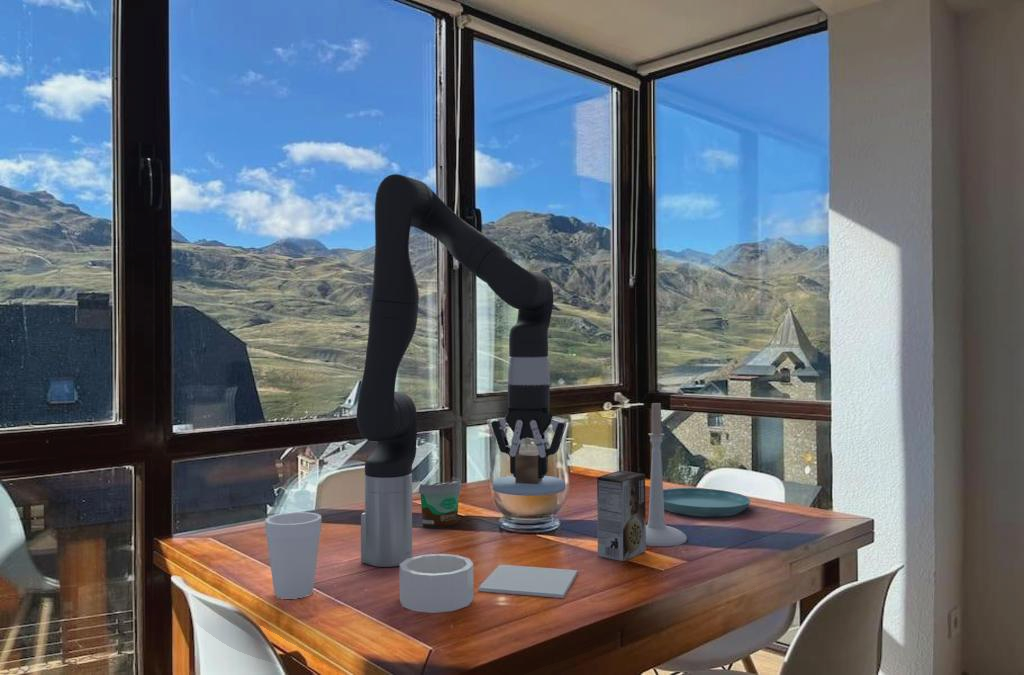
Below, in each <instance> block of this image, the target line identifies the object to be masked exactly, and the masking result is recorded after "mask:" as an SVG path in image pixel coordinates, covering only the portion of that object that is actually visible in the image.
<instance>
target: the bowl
mask: <svg viewBox="0 0 1024 675" xmlns="http://www.w3.org/2000/svg"><path fill="white" fill-rule="evenodd" d="M474 587H475V586H474V563H473V561H472V560H471V559H470V558H469V557H465V556H461V555H458V554H447V553H433V554H431V553H430V554H421V555H418V556H414V557H413V556H412V558H409V559H406V560H405V561H403V562H402V563H401V564H400V565H399V602H400V604H401V607H402V608H405V609H407V610H409V611H412V612H416V613H417V612H419V613H429V614H430V613H431V614H437V613H446V612H455V611H458V610H460V609H463V608H466V607H468V606H469V605H470V604H471V603H472V602H473V601H474V599H475V598H474V595H475V594H474V592H475V591H474Z"/></svg>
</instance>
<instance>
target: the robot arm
mask: <svg viewBox="0 0 1024 675" xmlns="http://www.w3.org/2000/svg"><path fill="white" fill-rule="evenodd" d="M375 194H376V195H375V200H374V232H375V234H374V236H375V237H374V239H375V240H374V242H375V244H374V260H373V261H374V262H373V278H372V287H371V289H372V290H371V294H370V295H371V296H370V305H369V307H370V308H369V319H368V320H369V322H368V336H367V344H366V351H365V352H366V353H365V362H364V369H363V375H362V380H361V384H360V389H359V395H358V401H357V407H356V424H357V428H358V430H359V433H360V434H361V436H363V438H364V439H365V440H367V441H370V442H377V445H376V447H375V449H374V451H373V453H371V455H369V456H368V458H367V459H365V462H364V512H362V513H361V514H360V563H362V564H366V565H369V566H372V567H377V568H378V567H379V568H381V567H382V568H388V567H389V568H390V567H392V568H393V567H398V566H399V567H400V564H401V563H402V562H403V561H405V560H406V559H409V558H413V463H414V461H415V459H416V456H417V455H416V454H417V441H418V439H417V438H418V412H417V408H416V404H415V402H414V401H413V399H412V397H411V396H410V395H408V394H407V393H405V392H402V391H396V390H395V389H396V380H397V375H398V370H399V368H400V364H401V362H402V359H403V358H404V356H405V353H406V352H407V351H408V350H407V349H408V347H409V346H410V343H411V342H412V339H413V337H414V334H415V332H416V329H417V324H418V314H419V305H420V304H419V301H420V296H419V295H420V292H419V287H418V283H417V278H416V275H415V273H414V268H413V265H412V261H411V257H410V249H409V248H410V246H409V245H410V234H411V233H410V232H411V227H413V228H416V229H417V230H420V231H423V233H426V234H428V235H430V236H431V237H433V238H435V239H436V240H438V241H439V242H440V243H441V244H443V246H444V247H445V249H446V250H448V252H449V253H450V254H451V256H452V257H453V258H454V259H455V260H456V261H457V263H459V264H460V265H461V266H462V267H464V268H465V269H467V270H468V271H469V272H470V273H472V274H473V275H474V276H476V277H477V278H478V279H480V280H481V281H482V282H484V283H486V284H487V286H488V287H489V288H490V289H491V290H492V292H494V293H495V295H497V297H499V298H500V300H502V301H503V302H504V303H505V304H507V305H508V306H511V307H512V308H514V309H517V310H518V312H517V319H516V323H515V324H514V325H513V326H511V328H510V329H509V334H508V335H509V337H508V356H509V358H508V365H507V413H506V415H505V417H504V418H500V419H498V418H497V419H496V420H493V421H491V427H492V431H493V433H494V437H495V439H496V440H495V441H496V442H497V446H498V449H499V451H500V453H503V454H506V455H508V456H509V470H510V471H509V472H510V474H511V475H512V476H514V477H515V455H516V454H518V453H520V449H521V447H522V443H523V441H524V439H527V438H529V439H531V440H534V442H535V446H536V447H537V452H539V458H538V477H539V478H541V479H542V478H544V476H547V475H548V471H549V467H548V466H549V463H548V462H549V460H548V459H549V456H551V455H555V454H556V453H557V452H558V451H559V448H560V445H561V443H562V439H563V437H564V434H565V430H566V428H567V422H566V421H564V420H562V421H561V420H558V419H555V418H553V415H552V413H551V411H550V405H551V404H550V402H551V401H550V400H551V399H550V397H551V396H550V389H551V388H550V385H551V384H550V382H551V374H550V364H549V337H548V334H549V333H548V332H549V327H550V323H551V320H552V312H553V308H554V290H553V289H554V288H553V285H552V282H551V281H550V279H549V278H548V276H546V275H544V274H543V273H541V272H536V271H530V270H528V269H526V268H524V267H523V266H521V265H520V264H518V263H517V262H516V261H514V260H513V258H512V256H511V254H510V253H509V252H508V251H507V250H506V249H504V248H503V247H501V246H500V244H498V243H496V242H495V241H493V240H492V239H490V238H489V237H488V236H486V235H485V234H483V233H482V232H480V231H479V230H477V228H475V227H473V226H472V225H470V224H469V223H467V221H465V220H464V219H463V218H461V217H460V216H459V215H458V214H457V213H455V211H453V210H452V209H451V208H450V207H449V206H448V205H447V204H446V203H445V202H444V201H443V199H441V198H440V197H439V195H438V194H436V193H435V191H434V190H433V189H432V188H431V187H430V186H428V184H427V183H425V182H423V181H421V180H419V179H416V178H412V177H410V176H406V175H402V174H397V173H395V174H394V173H393V174H390V175H388V176H386V177H385V178H383V180H382V181H381V182H380V183H379V185H378V187H377V191H376V193H375ZM507 425H508V427H509V428H510V430H511V431H512V433H513V435H512V439H511V444H509V440H508V438H507V434H506V432H505V430H506V429H507ZM549 426H552V429H551V431H552V433H553V432H554V434H553V438H552V441H551V444H550V447H548V445H547V438H546V435H545V432H546V431H547V430H548V429H549Z"/></svg>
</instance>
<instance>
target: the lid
mask: <svg viewBox="0 0 1024 675" xmlns="http://www.w3.org/2000/svg"><path fill="white" fill-rule="evenodd" d="M538 458H539V452H538V451H537V452H536V451H535V452H534V451H533V452H532V451H519V453H518V454H516V455H515V477H514V476H513V475H508V476H502V477H498V478H495V479H493V481H492V490H493V491H494V492H496V493H500V494H503V495H504V494H505V495H509V496H510V495H513V496H526V497H527V496H528V497H529V496H547V495H548V496H549V495H554V494H558V493H562V492H564V491H565V490H566V481H565V480H564V479H563V478H559V477H556V476H549V475H544V478H542V479H541V478H539V477H538Z"/></svg>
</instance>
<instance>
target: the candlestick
mask: <svg viewBox="0 0 1024 675" xmlns="http://www.w3.org/2000/svg"><path fill="white" fill-rule="evenodd" d="M664 436H665V433H662V404H661V403H660V402H659V403H658V402H657V401H655V403H654V402H653V403H651V433H648V437H650V439H649V442H650V443H651V445H652V448H651V461H650V462H651V463H650V465H651V466H650V480H649V481H650V483H649V504H648V506H649V507H648V520H647V521H648V522H647V523H646V546H648V547H675V546H679V545H683V544H685V543H686V542H687V540H688V537H687V535H686V533H684V532H683V531H681V530H680V529H677V528H676V527H672V526H669V525H667V524H666V520H665V509H664V498H663V490H664V483H663V480H664V479H663V467H662V466H663V465H662V463H663V462H662V450H661V444H662V442H663V437H664Z"/></svg>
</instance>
